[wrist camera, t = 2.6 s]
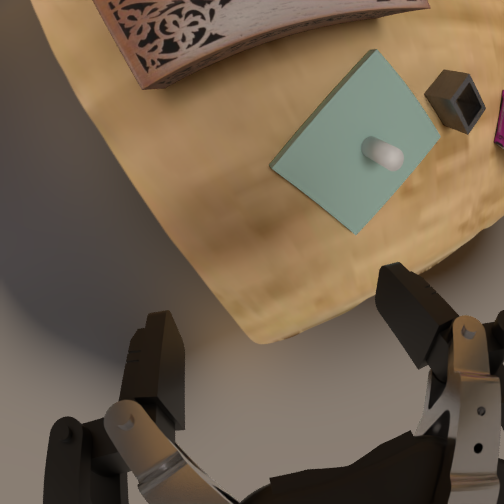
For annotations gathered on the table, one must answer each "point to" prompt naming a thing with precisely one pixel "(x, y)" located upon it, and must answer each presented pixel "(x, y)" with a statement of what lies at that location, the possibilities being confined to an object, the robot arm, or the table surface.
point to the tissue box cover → (219, 29)
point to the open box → (456, 112)
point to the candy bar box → (500, 126)
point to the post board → (359, 143)
